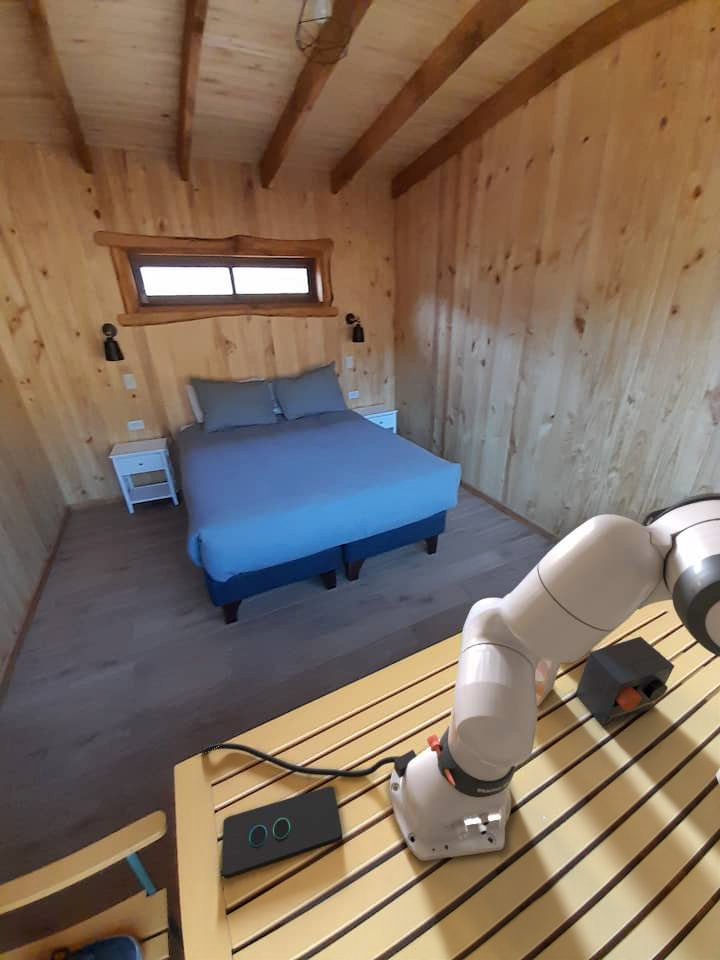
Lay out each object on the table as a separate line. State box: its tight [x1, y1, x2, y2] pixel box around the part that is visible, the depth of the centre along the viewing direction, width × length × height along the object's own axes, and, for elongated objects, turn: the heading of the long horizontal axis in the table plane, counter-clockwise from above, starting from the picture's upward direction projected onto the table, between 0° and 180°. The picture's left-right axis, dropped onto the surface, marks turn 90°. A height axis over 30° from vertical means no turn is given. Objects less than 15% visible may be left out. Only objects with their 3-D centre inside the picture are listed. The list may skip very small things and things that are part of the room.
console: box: [574, 636, 675, 728], centre depth 87 cm, size 14×10×14 cm
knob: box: [615, 687, 642, 711], centre depth 82 cm, size 4×3×4 cm
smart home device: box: [221, 785, 343, 880], centre depth 70 cm, size 8×2×20 cm
